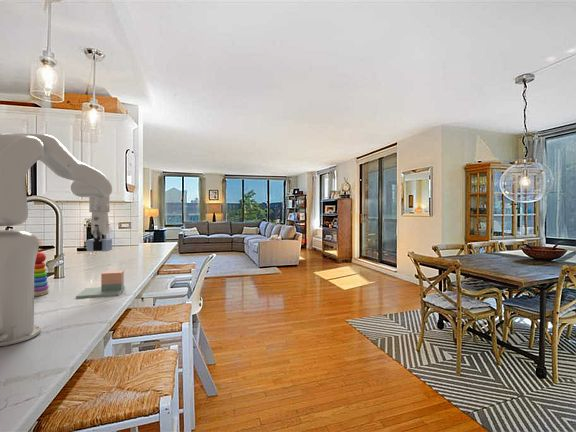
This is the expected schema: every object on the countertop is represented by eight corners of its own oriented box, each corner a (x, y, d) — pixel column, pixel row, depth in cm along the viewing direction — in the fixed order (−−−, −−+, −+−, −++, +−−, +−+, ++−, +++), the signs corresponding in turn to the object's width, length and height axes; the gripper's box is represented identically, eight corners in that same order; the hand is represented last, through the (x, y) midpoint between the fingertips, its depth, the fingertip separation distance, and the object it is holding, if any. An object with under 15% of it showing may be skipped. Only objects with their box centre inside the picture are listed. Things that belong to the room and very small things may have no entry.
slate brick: (106, 251, 125) (106, 240, 125) (86, 251, 124) (86, 240, 124) (111, 249, 130) (111, 238, 130) (93, 249, 129) (93, 238, 129)
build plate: (118, 295, 126) (118, 286, 126) (75, 298, 121) (75, 289, 121) (124, 287, 139) (124, 279, 139) (86, 290, 133) (86, 281, 133)
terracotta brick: (121, 283, 131) (121, 272, 131) (101, 284, 129) (101, 273, 129) (123, 280, 136) (123, 270, 136) (104, 282, 134) (104, 271, 133)
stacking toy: (20, 297, 121) (20, 253, 121) (32, 292, 129) (32, 251, 129) (43, 296, 123) (43, 253, 123) (52, 291, 131) (52, 250, 131)
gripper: (104, 209, 120) (104, 252, 120) (113, 209, 136) (113, 246, 136) (83, 209, 117) (83, 252, 118) (95, 208, 133) (95, 247, 134)
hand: (99, 249), depth 127 cm, fingers closed on slate brick, 5 cm apart
